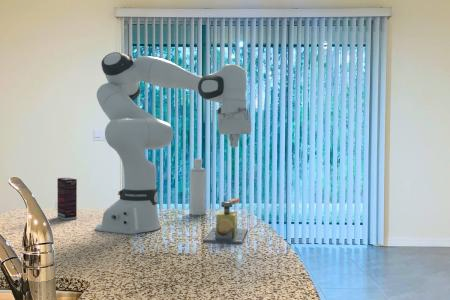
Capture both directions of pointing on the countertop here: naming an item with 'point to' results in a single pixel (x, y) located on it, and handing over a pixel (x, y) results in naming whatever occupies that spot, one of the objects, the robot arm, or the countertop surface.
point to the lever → (229, 202)
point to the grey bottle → (198, 189)
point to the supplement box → (67, 198)
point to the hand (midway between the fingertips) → (233, 146)
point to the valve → (226, 229)
